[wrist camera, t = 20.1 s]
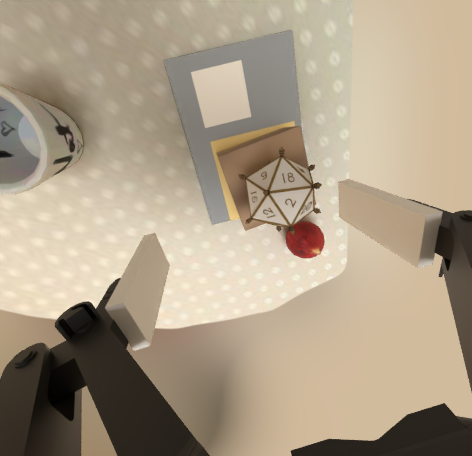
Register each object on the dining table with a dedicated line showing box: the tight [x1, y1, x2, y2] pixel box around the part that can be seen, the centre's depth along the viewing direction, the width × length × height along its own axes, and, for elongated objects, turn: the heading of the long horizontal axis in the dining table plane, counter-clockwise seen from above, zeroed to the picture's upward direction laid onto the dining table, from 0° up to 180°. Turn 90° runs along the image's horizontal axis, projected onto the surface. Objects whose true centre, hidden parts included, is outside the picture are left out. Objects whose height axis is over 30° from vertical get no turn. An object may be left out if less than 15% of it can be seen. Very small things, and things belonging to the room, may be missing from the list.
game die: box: [238, 147, 322, 235], centre depth 24 cm, size 9×8×10 cm
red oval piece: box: [286, 222, 324, 258], centre depth 35 cm, size 6×6×8 cm
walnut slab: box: [216, 126, 316, 231], centre depth 30 cm, size 10×10×6 cm
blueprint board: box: [164, 30, 302, 225], centre depth 31 cm, size 22×16×2 cm
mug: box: [0, 83, 83, 194], centre depth 24 cm, size 10×15×10 cm
